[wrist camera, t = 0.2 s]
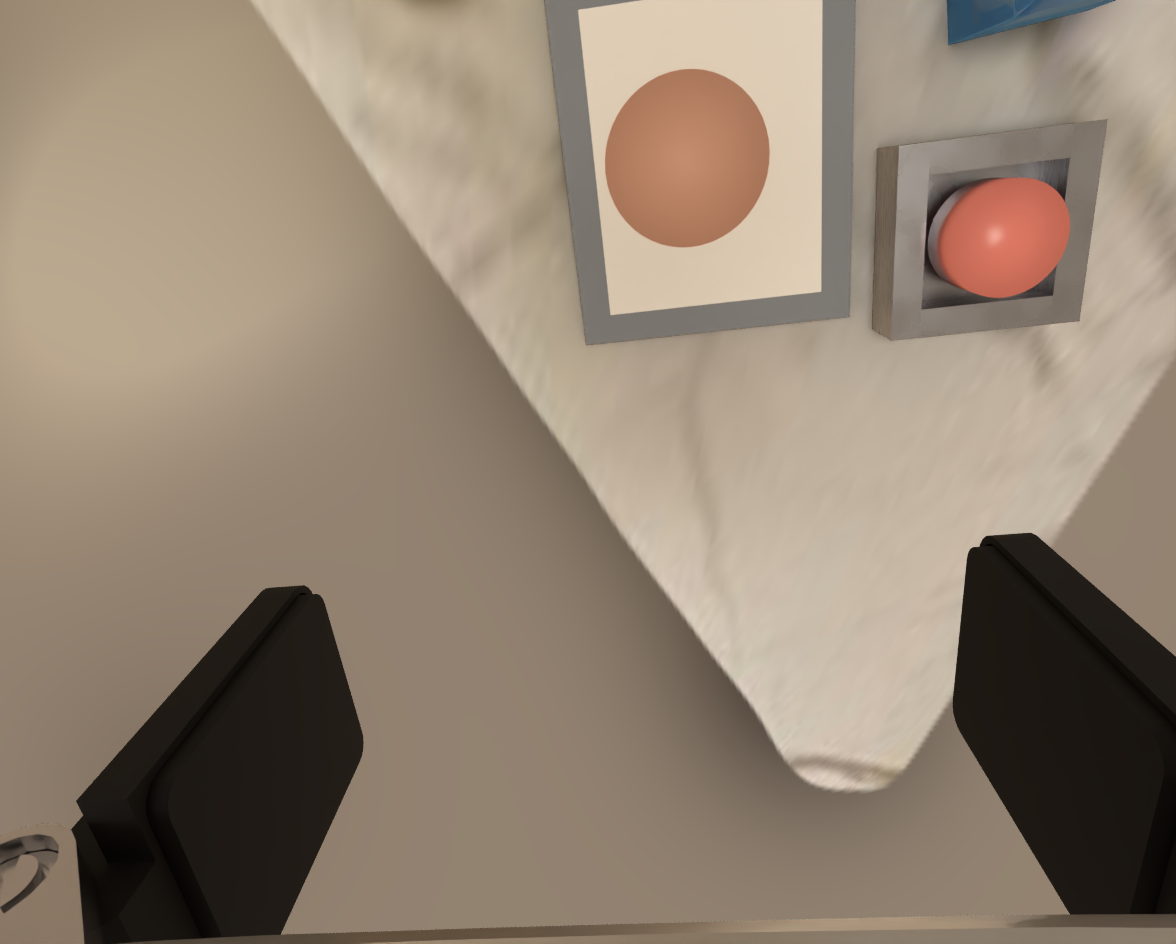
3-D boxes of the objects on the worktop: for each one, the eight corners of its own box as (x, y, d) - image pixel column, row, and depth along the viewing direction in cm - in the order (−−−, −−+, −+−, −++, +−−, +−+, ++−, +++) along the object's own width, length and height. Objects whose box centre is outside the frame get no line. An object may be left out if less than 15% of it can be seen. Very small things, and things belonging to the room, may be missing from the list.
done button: (931, 185, 34) (954, 185, 32) (1045, 171, 34) (1077, 170, 31) (924, 295, 36) (945, 303, 34) (1032, 283, 36) (1062, 291, 33)
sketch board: (543, -18, 33) (540, -25, 32) (850, -65, 32) (858, -74, 31) (587, 341, 40) (585, 346, 39) (844, 313, 38) (850, 317, 37)
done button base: (877, 148, 35) (899, 145, 33) (1069, 123, 35) (1107, 119, 32) (872, 328, 39) (891, 340, 36) (1046, 310, 38) (1079, 321, 35)
